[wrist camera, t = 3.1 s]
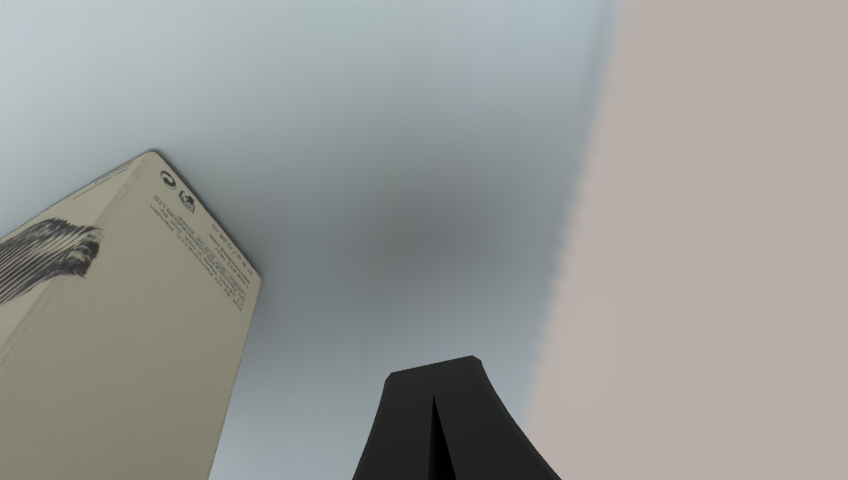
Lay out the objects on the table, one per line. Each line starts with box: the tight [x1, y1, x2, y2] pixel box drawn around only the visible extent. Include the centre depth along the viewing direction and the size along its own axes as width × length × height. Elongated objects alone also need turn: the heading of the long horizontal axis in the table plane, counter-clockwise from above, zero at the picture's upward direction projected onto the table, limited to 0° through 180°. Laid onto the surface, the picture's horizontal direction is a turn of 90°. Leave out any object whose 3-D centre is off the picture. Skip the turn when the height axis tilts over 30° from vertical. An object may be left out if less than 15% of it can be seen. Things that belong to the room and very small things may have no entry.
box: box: [0, 152, 261, 480], centre depth 12 cm, size 5×4×13 cm
